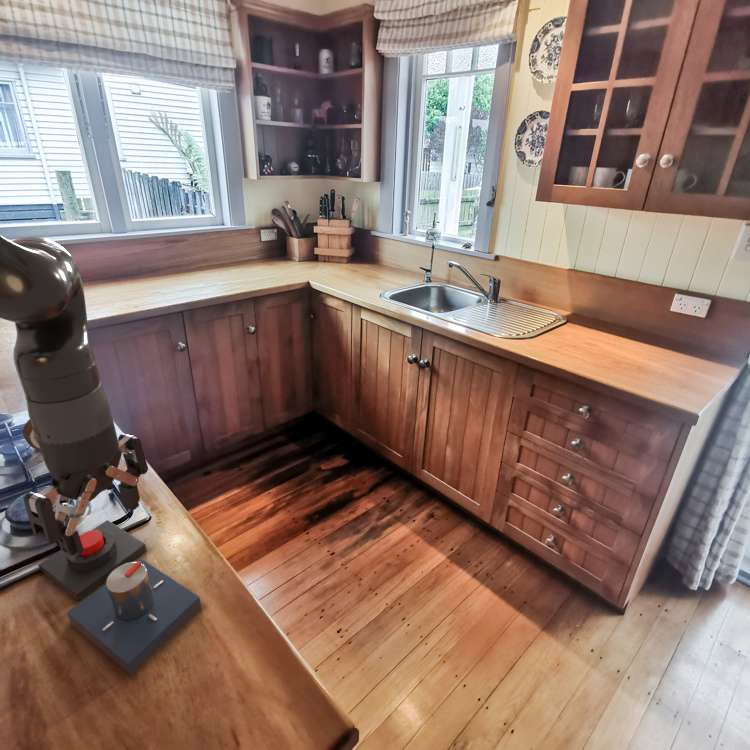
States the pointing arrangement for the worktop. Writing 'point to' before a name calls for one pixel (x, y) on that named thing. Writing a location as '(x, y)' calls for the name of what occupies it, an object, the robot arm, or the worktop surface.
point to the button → (91, 542)
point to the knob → (130, 590)
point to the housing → (93, 562)
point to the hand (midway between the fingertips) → (105, 528)
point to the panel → (136, 620)
